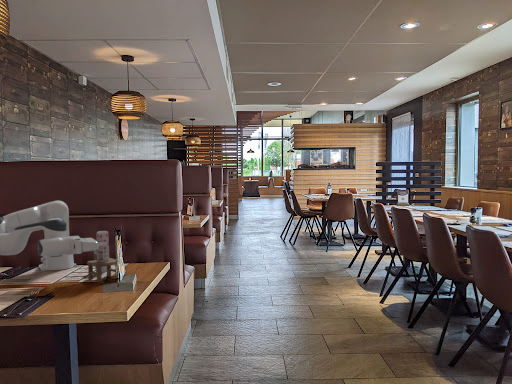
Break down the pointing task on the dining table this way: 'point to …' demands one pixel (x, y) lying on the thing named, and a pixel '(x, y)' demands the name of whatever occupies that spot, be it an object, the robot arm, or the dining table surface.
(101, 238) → the beverage can
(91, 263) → the stool
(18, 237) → the robot arm
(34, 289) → the dining table surface
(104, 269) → the coffee cup
